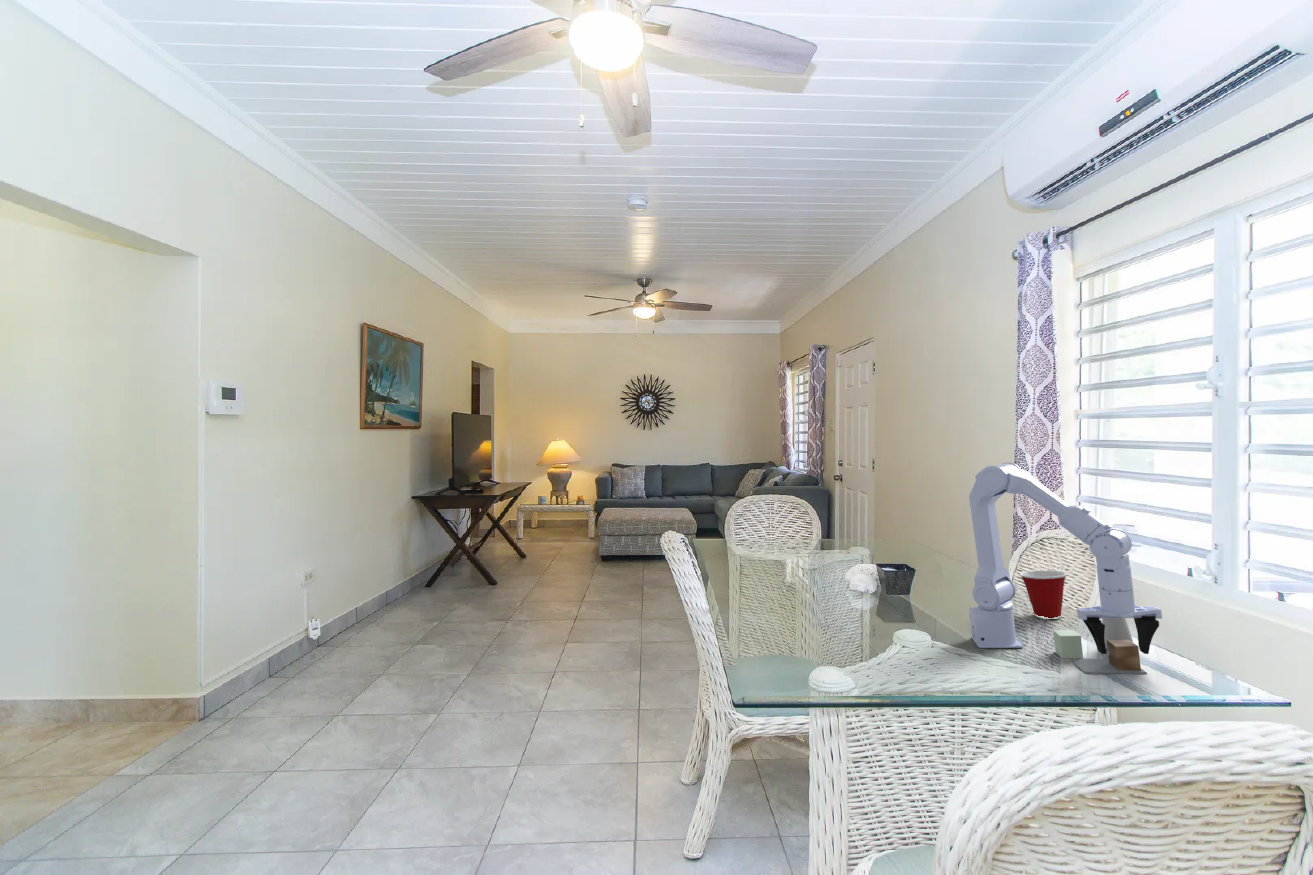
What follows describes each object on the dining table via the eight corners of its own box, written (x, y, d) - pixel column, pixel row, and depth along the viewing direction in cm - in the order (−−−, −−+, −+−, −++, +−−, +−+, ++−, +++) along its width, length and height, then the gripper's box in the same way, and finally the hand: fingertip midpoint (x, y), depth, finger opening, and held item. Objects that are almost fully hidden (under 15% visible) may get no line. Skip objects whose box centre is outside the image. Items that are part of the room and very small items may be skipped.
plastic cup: (1058, 609, 164) (1053, 566, 164) (1080, 621, 153) (1075, 575, 153) (1016, 611, 165) (1011, 569, 165) (1035, 623, 154) (1030, 578, 155)
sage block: (1062, 658, 132) (1060, 636, 132) (1055, 651, 136) (1053, 630, 136) (1083, 658, 131) (1080, 635, 131) (1075, 651, 135) (1073, 629, 135)
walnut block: (1118, 670, 122) (1115, 646, 123) (1109, 663, 126) (1106, 639, 126) (1141, 670, 121) (1138, 646, 122) (1131, 663, 125) (1128, 639, 125)
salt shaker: (1139, 654, 130) (1133, 595, 130) (1110, 655, 131) (1104, 597, 131) (1124, 645, 135) (1118, 588, 135) (1096, 646, 136) (1090, 590, 137)
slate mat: (1084, 673, 123) (1084, 672, 123) (1070, 660, 130) (1069, 658, 130) (1146, 673, 120) (1146, 672, 120) (1128, 659, 128) (1127, 658, 128)
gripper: (1084, 594, 122) (1091, 659, 122) (1167, 591, 119) (1174, 659, 118) (1070, 585, 129) (1077, 647, 129) (1148, 583, 125) (1155, 646, 125)
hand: (1122, 652), depth 124 cm, fingers open, 7 cm apart
